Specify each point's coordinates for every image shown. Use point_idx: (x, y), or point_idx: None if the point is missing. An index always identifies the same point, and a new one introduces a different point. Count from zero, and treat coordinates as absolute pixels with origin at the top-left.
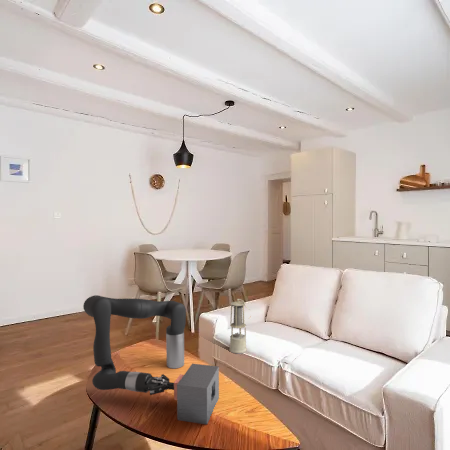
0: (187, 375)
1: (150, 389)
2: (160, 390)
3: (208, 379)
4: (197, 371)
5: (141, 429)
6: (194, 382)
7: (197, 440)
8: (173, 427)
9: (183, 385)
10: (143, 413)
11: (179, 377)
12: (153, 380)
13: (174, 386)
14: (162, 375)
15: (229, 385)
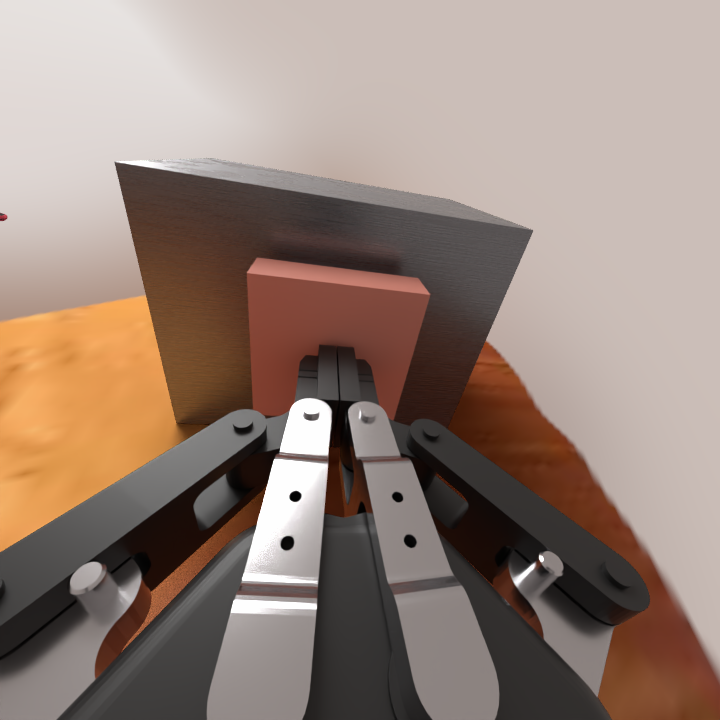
0: (373, 200)
1: (636, 580)
2: (432, 500)
3: (372, 187)
4: (292, 181)
5: (680, 618)
6: (435, 203)
7: (490, 359)
8: (498, 435)
9: (506, 220)
10: None
11: (318, 275)
12: (436, 657)
13: (419, 325)
14: (24, 587)
15: (110, 310)
